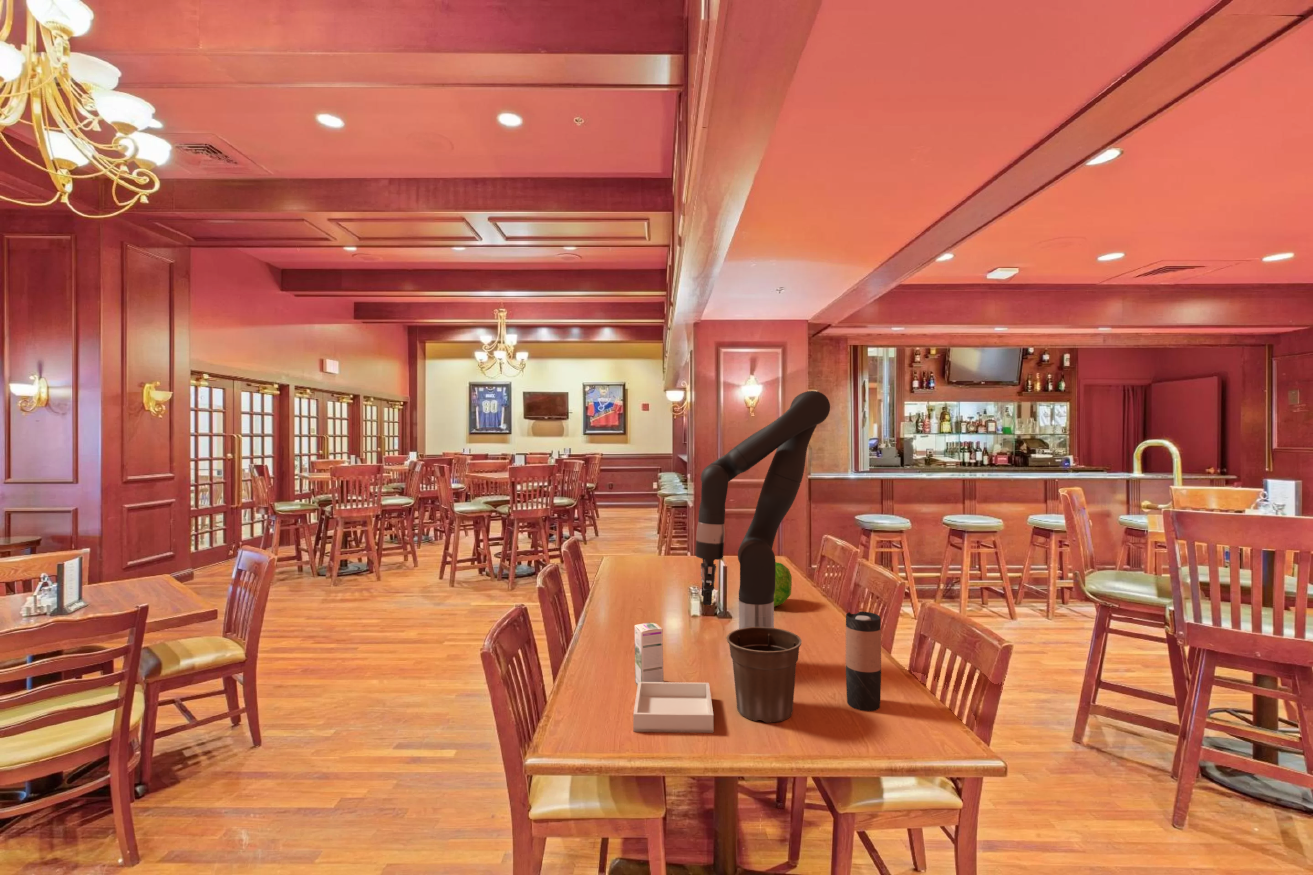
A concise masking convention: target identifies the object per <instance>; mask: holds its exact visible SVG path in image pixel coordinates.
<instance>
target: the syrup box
mask: <svg viewBox="0 0 1313 875" xmlns="http://www.w3.org/2000/svg"><path fill="white" fill-rule="evenodd" d="M663 632H664V631H663V628H662V627H661V626H659V624H657V623H656V622H644V623H639V624H635V625H634V674H635V675H634V678H635V680H634V681H635V682H634V683H635V684H636V685H637V686H638V682H665V681H664V679H665V678H664V637H663V636H664V634H663Z"/></svg>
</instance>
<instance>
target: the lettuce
mask: <svg viewBox="0 0 1313 875" xmlns="http://www.w3.org/2000/svg"><path fill="white" fill-rule="evenodd" d="M775 562H776V561H775ZM792 578H793V577H792V574H791V571H790V569H789V568H788V567H787V566H786V565H784V564H783V563H781V562H776V573H775V592H774V608H775V607H778V606H780V605H783V604H784V603H785V602H786V601H787V600H788V599H789V598H790V596H791V595H792V585H793V584H792V583H793V582H792Z"/></svg>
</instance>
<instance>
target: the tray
mask: <svg viewBox="0 0 1313 875" xmlns="http://www.w3.org/2000/svg"><path fill="white" fill-rule="evenodd" d="M635 694H636V695H635V701H634V708H633V713H632V714H633V715H632V716H633V720H632V721H633V733H688V734H689V733H691V734H692V733H697V734H698V733H699V734H700V733H701V734H703V733H704V734H705V733H707V734H708V733H709V734H711V733H712V734H713V733H714V711H713V710H714V709H713V703H712V694H711V688H710V682H690V681H689V682H685V681H684V682H682V681H681V682H680V681H679V682H678V681H677V682H675V681H674V682H672V681H671V682H669V681H668V682H667V681H663V682H638V685H637V688H636V693H635Z"/></svg>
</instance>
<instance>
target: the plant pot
mask: <svg viewBox="0 0 1313 875" xmlns="http://www.w3.org/2000/svg"><path fill="white" fill-rule="evenodd" d="M726 641H727V643H728V644H729V652H730V658H731V660H732V661H731V662H732V670H733V679H734V689H735V699H736V700H735V702H736V710H737V711H738V713H739V714H740V715H741V716H743V717H744V718H746V719H748V720H751V721H753V722H758V721H759V720H760V721H762V722H764V723H767V724H768V723H770V724H771V723H780V722H782V721H783V722H784V721H785V720H788V719H789V718H790V717H792V716H793V715H792V714H793V710H794V698H795V684H796V672H797V663H798V660H799V653H800V647H801V646H802V638H801V637H800V636H799V635H798V634H796V633H794V632H792V631H790V630H785V629H782V628H777V627H774V628H772V627H747V628H742V629H739V628H737V629H735V630H732V631H730V632H729V633H728V634H727V636H726Z"/></svg>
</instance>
